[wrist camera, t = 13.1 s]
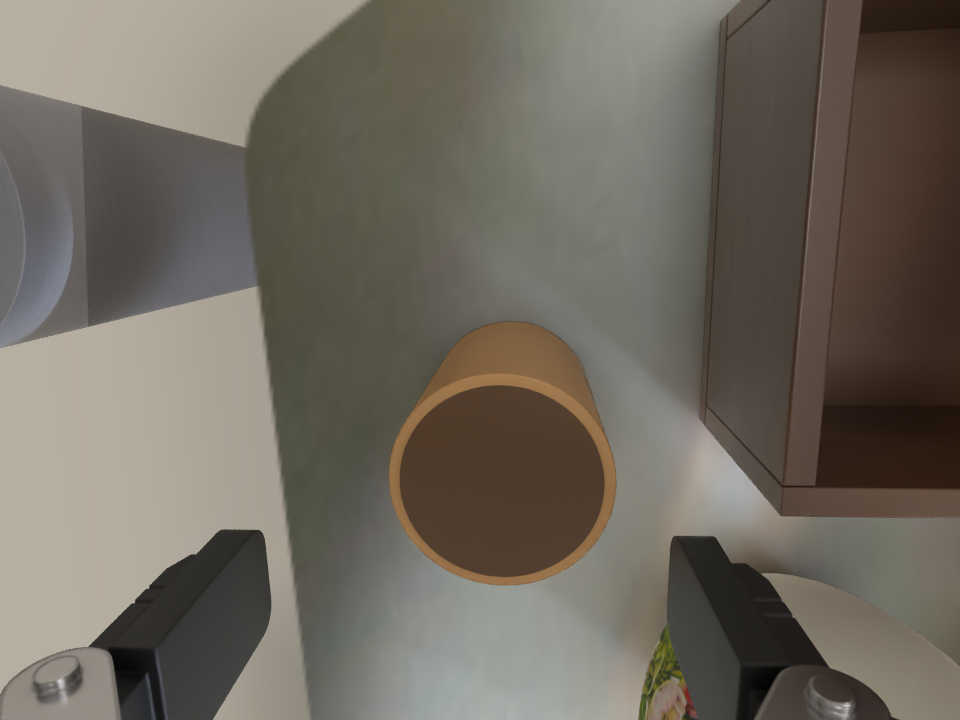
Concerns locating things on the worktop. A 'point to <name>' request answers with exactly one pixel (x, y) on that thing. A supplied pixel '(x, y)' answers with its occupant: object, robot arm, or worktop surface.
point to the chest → (837, 256)
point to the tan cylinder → (504, 459)
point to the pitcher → (834, 656)
